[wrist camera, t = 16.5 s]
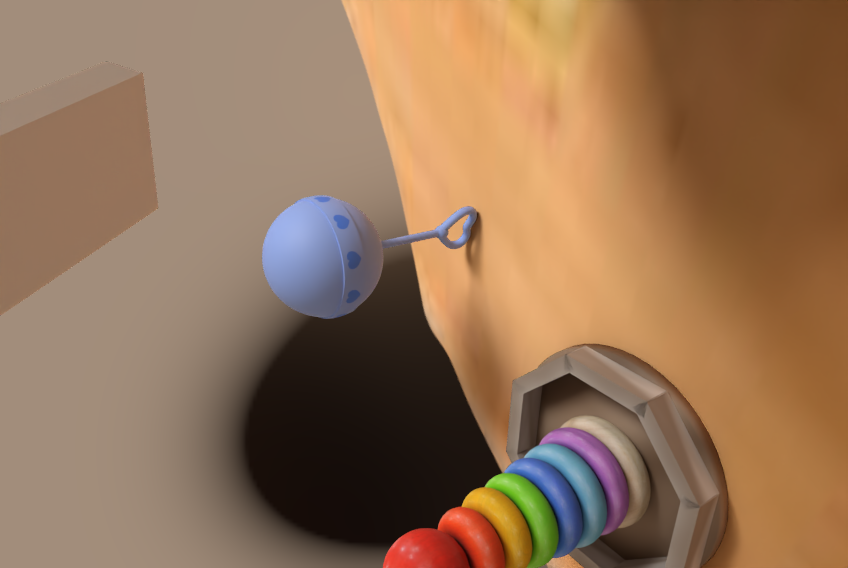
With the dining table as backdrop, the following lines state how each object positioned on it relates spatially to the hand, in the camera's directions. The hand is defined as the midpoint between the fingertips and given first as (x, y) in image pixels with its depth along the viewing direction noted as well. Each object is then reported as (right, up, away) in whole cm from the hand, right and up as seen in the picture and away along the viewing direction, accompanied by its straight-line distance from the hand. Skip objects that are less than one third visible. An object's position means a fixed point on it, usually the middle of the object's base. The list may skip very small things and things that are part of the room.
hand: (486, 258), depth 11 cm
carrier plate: (+13, -13, +38) cm, 42 cm away
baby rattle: (+3, +5, +45) cm, 45 cm away
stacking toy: (+12, -13, +37) cm, 41 cm away
